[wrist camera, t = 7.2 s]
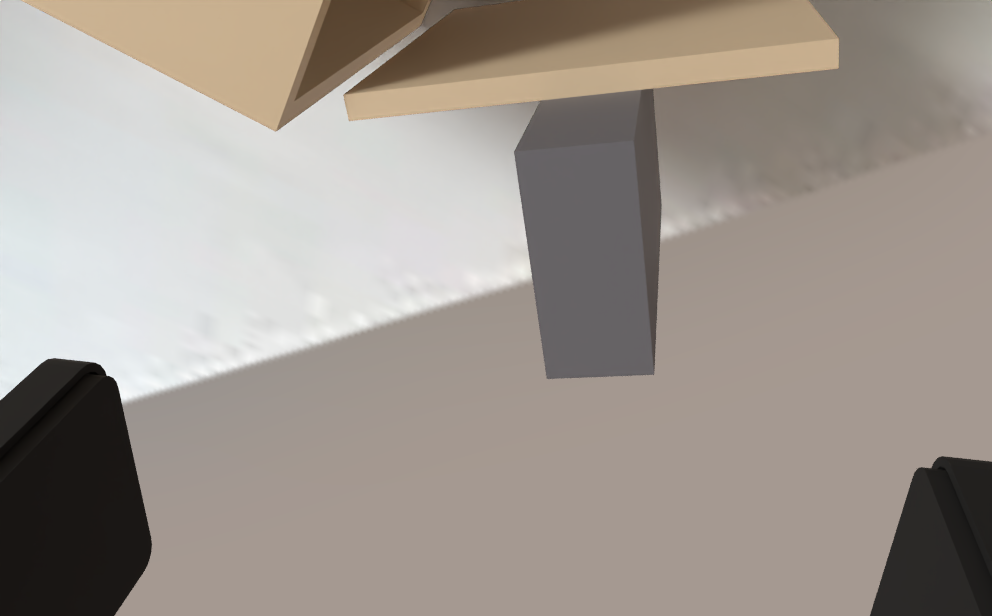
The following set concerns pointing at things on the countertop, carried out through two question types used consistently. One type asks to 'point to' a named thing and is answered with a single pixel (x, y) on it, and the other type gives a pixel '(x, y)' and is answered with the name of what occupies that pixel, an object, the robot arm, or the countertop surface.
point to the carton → (248, 44)
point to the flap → (592, 136)
